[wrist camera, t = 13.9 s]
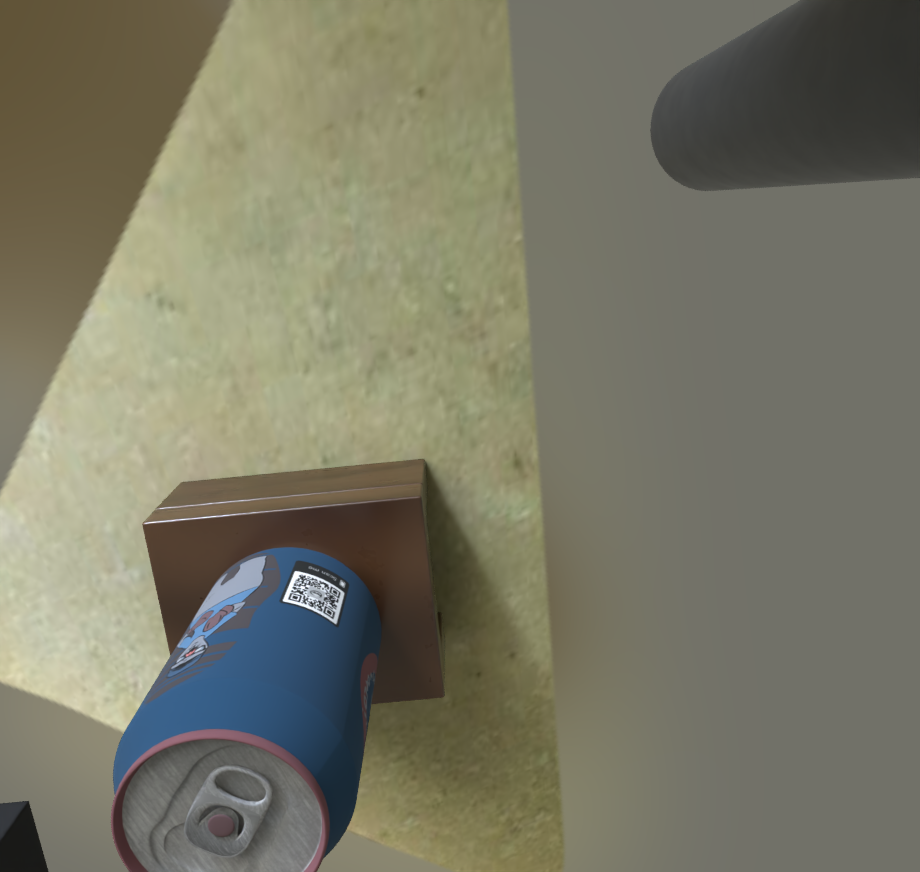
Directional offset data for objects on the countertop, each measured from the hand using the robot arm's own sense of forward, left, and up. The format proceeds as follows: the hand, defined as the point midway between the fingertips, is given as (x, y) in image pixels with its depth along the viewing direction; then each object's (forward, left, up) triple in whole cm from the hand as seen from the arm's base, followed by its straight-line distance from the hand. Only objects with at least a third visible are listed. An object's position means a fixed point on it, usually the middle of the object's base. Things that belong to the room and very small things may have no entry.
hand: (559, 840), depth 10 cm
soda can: (+11, +1, -22) cm, 24 cm away
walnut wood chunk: (+11, +1, -27) cm, 29 cm away
